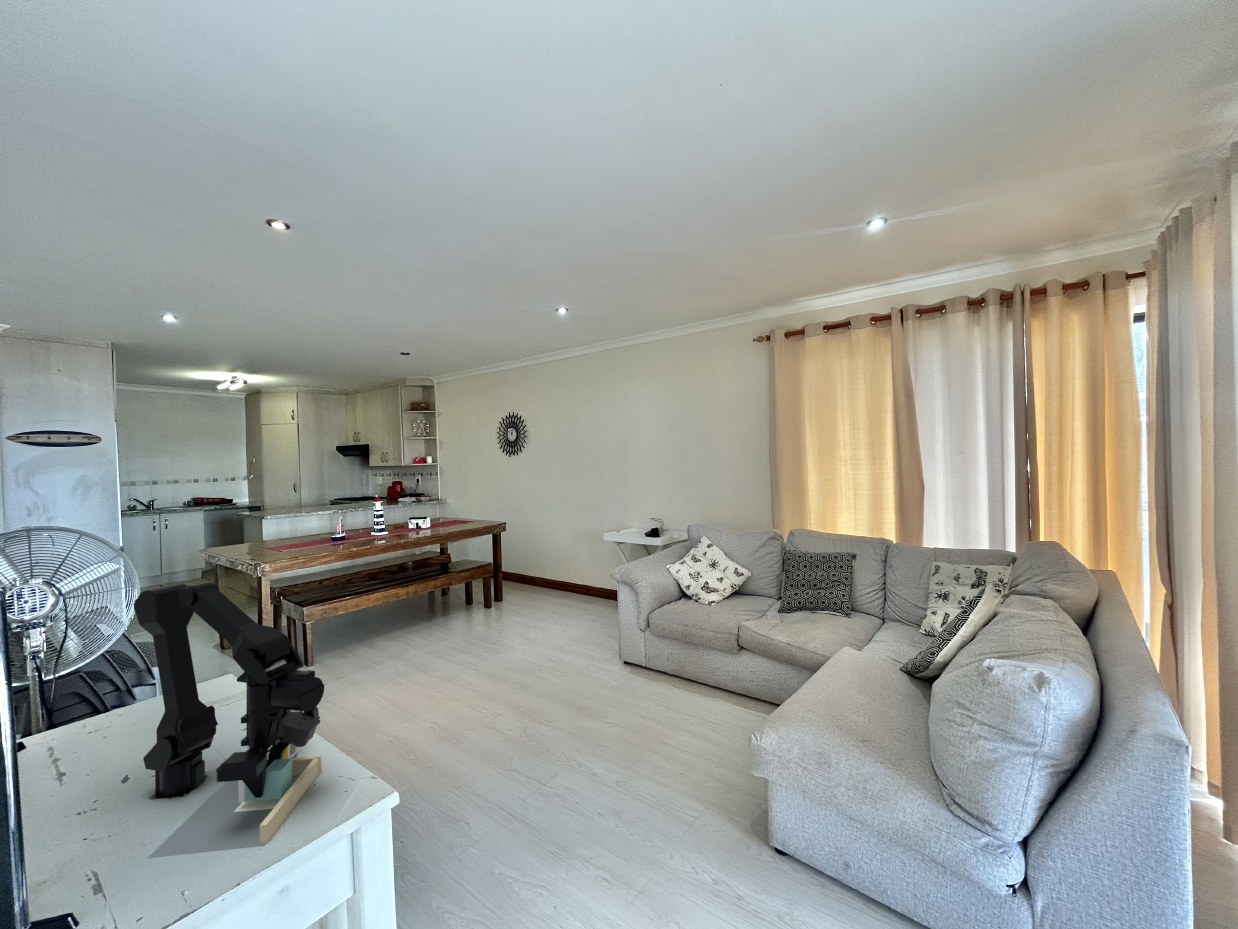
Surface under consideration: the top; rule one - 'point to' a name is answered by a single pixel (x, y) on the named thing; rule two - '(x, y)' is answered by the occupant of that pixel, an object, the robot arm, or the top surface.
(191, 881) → the top surface
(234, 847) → the board
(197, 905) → the top surface
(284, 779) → the teal block
